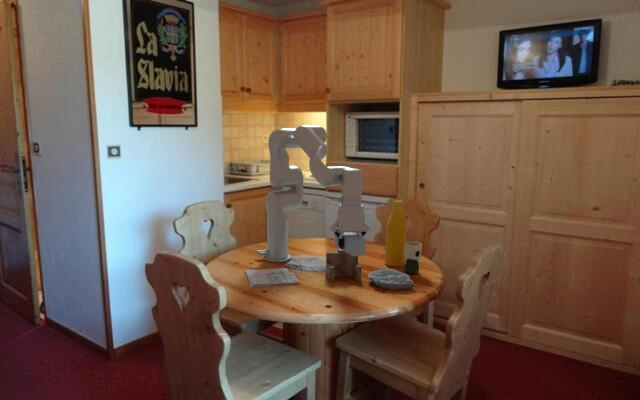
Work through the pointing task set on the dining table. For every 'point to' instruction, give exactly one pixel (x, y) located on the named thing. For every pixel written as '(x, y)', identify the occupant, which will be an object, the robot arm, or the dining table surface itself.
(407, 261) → the character mug
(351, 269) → the notched brown block
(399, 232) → the yellow bottle
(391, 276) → the flat grey rock
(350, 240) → the grey rectangular block
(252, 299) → the dining table surface
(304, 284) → the dining table surface
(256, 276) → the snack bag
